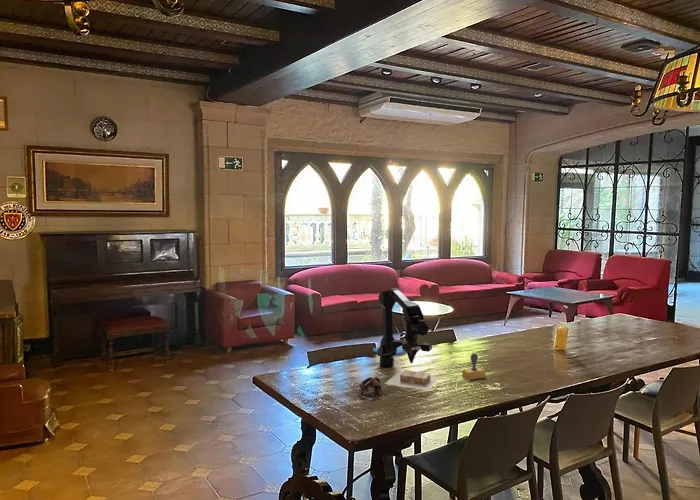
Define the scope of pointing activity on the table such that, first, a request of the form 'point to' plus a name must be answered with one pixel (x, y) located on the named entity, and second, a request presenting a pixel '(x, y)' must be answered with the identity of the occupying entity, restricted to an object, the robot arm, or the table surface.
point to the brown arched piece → (371, 384)
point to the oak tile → (415, 377)
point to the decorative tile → (398, 352)
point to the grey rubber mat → (396, 381)
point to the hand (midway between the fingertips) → (411, 363)
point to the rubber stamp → (473, 370)
